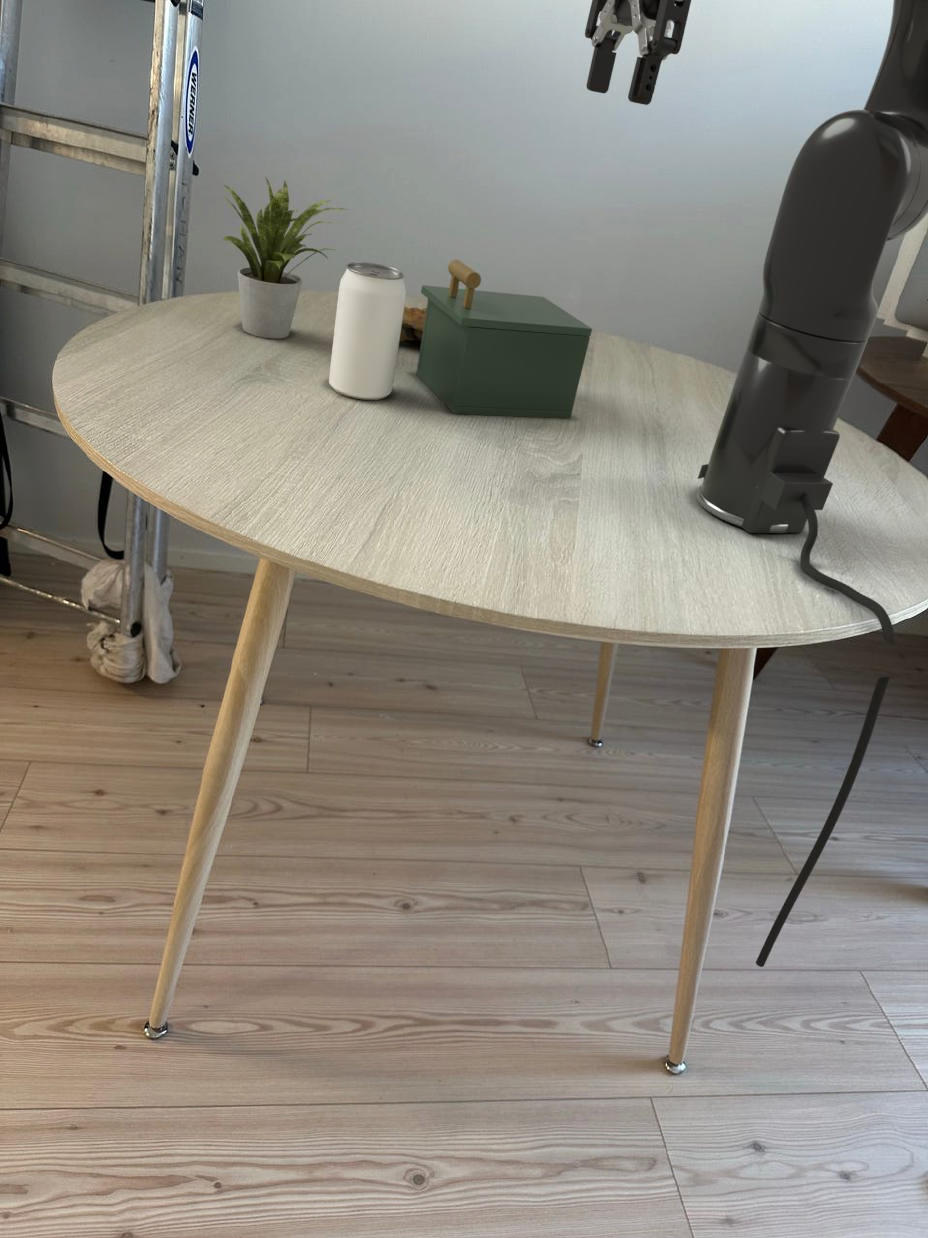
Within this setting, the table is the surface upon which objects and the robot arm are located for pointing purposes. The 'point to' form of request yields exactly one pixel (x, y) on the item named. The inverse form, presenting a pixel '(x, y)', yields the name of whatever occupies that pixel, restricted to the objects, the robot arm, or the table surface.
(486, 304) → the bread bin lid
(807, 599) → the table surface
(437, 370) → the bin
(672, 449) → the table surface
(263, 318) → the house plant
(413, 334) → the brown tree bark piece
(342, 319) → the can
